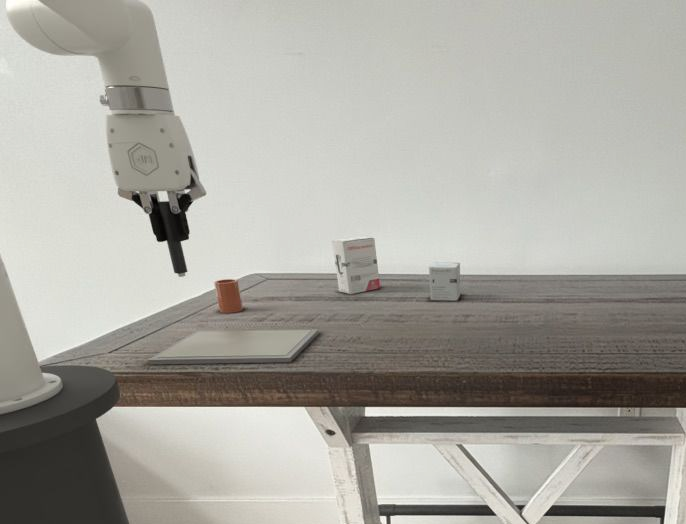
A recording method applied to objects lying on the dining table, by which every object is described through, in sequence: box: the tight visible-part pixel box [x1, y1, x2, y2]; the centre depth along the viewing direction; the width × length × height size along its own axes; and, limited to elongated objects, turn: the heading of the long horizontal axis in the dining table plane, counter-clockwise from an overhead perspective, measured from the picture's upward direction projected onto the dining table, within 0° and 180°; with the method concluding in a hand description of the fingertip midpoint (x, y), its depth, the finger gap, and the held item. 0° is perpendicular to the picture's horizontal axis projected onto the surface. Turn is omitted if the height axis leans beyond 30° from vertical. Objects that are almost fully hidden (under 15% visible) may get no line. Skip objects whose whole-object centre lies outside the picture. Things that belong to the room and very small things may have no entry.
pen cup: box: [213, 278, 244, 314], centre depth 112 cm, size 4×4×6 cm
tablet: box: [147, 328, 320, 365], centre depth 90 cm, size 15×21×1 cm
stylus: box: [158, 200, 189, 278], centre depth 84 cm, size 2×2×11 cm
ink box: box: [331, 236, 381, 295], centre depth 128 cm, size 9×5×12 cm, turn 139°
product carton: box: [428, 261, 461, 302], centre depth 121 cm, size 6×6×7 cm
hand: (173, 239), depth 84 cm, fingers closed on stylus, 2 cm apart
